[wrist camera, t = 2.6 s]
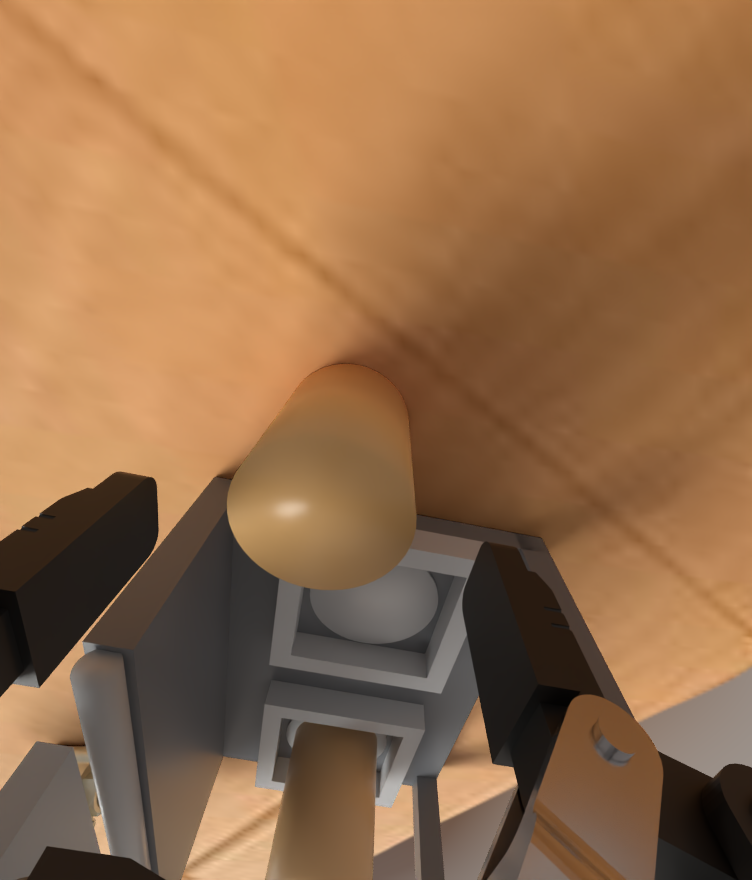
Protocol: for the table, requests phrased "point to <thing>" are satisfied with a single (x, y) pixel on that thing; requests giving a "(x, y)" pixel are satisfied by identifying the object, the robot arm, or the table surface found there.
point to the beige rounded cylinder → (329, 483)
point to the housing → (287, 693)
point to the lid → (43, 810)
